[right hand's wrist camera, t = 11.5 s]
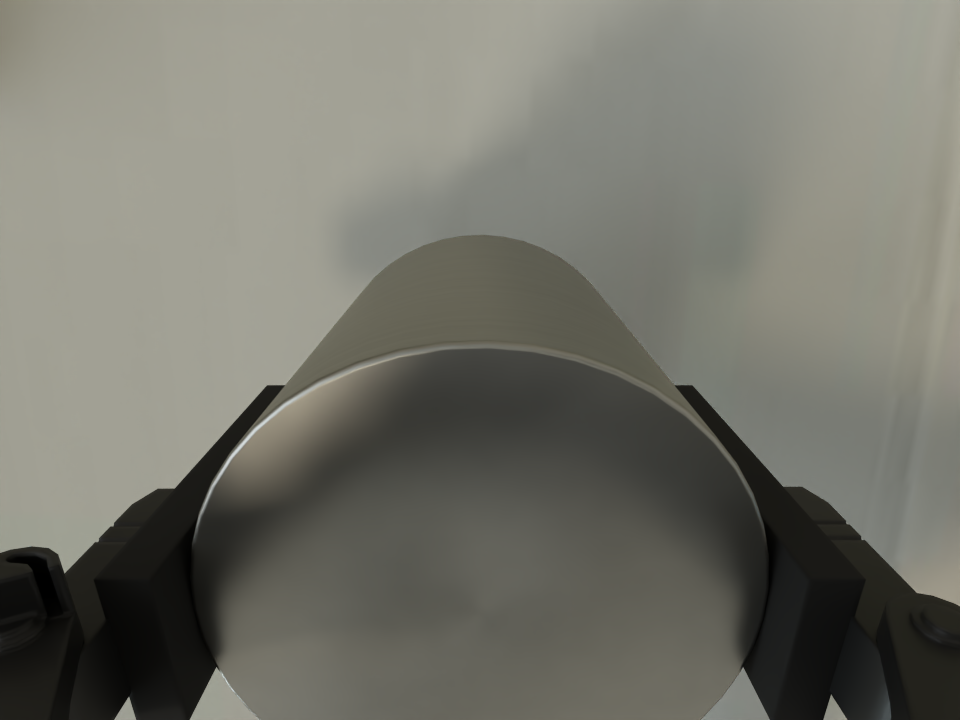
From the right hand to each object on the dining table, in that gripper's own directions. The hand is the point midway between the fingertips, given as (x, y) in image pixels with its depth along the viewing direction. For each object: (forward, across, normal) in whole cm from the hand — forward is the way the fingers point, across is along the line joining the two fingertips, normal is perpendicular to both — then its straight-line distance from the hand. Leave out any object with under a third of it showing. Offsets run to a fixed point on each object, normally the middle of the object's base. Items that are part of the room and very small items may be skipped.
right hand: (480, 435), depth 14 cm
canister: (+4, 0, 0) cm, 4 cm away
